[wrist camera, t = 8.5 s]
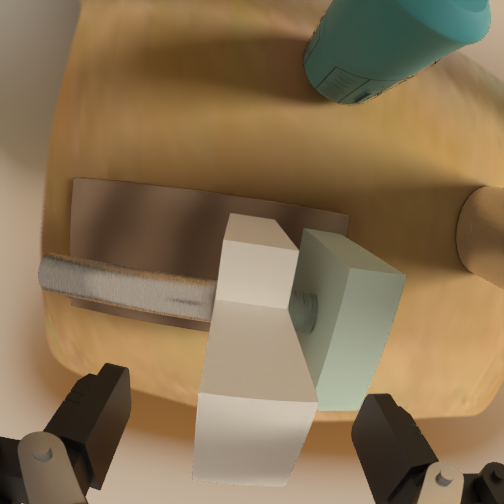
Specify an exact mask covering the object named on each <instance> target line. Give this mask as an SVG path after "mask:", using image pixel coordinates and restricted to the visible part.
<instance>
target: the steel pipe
mask: <svg viewBox="0 0 504 504" xmlns="http://www.w3.org/2000/svg"><path fill="white" fill-rule="evenodd" d="M38 278H39V283H40V286H41V287H42V289H44V290H47V291H51V292H55V293H59V294H63V295H68V296H72V297H76V298H81V299H85V300H89V301H94V302H99V303H103V304H108V305H113V306H118V307H123V308H128V309H133V310H139V311H144V312H149V313H155V314H161V315H166V316H172V317H178V318H185V319H191V320H197V321H204V322H211V320H212V314H213V309H214V304H215V298H216V290H217V282H218V281H217V280H210V279H204V278H197V277H190V276H184V275H177V274H171V273H164V272H158V271H152V270H146V269H140V268H134V267H128V266H122V265H116V264H110V263H104V262H99V261H93V260H88V259H82V258H77V257H71V256H66V255H60V254H55V253H47V254H46V255H45V256H44V257H43V259H42V261H41V263H40V266H39V272H38ZM288 312H289V315H290V318H291V321H292V324H293V326H294V329H295V332H296V333H303V334H311V333H312V332H313V330H314V328H315V325H316V321H317V315H318V299H317V296H316V294H315V293H307V292H299V291H291V294H290V299H289V304H288Z"/></svg>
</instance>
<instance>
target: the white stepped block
mask: <svg viewBox="0 0 504 504" xmlns="http://www.w3.org/2000/svg"><path fill="white" fill-rule="evenodd" d="M298 255H299V250H298V249H297V247H296V246H295V245H294V243H293V242H292V241H291V240H290V238H289V237H288V236H287V235H286V233H285V232H284V231H283V229H282V228H281V227H280V226H279V224H278V223H277V222H276V221H275V220H273V219H267V218H261V217H254V216H247V215H241V214H234V213H230V216H229V220H228V224H227V228H226V231H225V235H224V239H223V246H222V253H221V260H220V267H219V275H218V282H217V290H216V298H215V304H214V309H213V314H212V320H211V325H210V331H209V336H208V342H207V347H206V353H205V359H204V364H203V370H202V376H201V382H200V387H199V394H198V406H197V418H196V431H195V442H194V457H193V471H192V480H196V481H204V482H213V483H222V484H233V485H248V486H285V485H286V483H287V481H288V478H289V476H290V474H291V472H292V470H293V467H294V465H295V463H296V460H297V458H298V456H299V453H300V451H301V449H302V446H303V444H304V441H305V439H306V436H307V434H308V431H309V429H310V426H311V424H312V421H313V418H314V416H315V413H316V410H317V408H318V405H319V400H318V397H317V394H316V391H315V388H314V385H313V382H312V379H311V376H310V373H309V370H308V367H307V364H306V361H305V358H304V355H303V353H302V350H301V347H300V344H299V341H298V338H297V335H296V332H295V329H294V326H293V324H292V321H291V318H290V315H289V312H288V304H289V299H290V294H291V290H292V285H293V280H294V275H295V270H296V265H297V260H298Z"/></svg>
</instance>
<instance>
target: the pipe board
mask: <svg viewBox="0 0 504 504" xmlns="http://www.w3.org/2000/svg"><path fill="white" fill-rule="evenodd" d="M230 213H234V214H241V215H247V216H254V217H261V218H267V219H273V220H275V221H276V222H277V223H278V224H279V226H280V227H281V228H282V229H283V231H284V232H285V233H286V235H287V236H288V237H289V238H290V240H291V241H292V242H293V243H294V245H295V246H296V247H297V249H298V250H300V245H301V239H302V234H303V229H304V228H307V229H313V230H319V231H325V232H331V233H337V234H341V235H343V236H345V237H347V232H348V227H349V222H350V217H351V216H349V215H346V214H343V213H337V212H332V211H327V210H321V209H316V208H310V207H305V206H299V205H293V204H287V203H281V202H275V201H269V200H263V199H256V198H250V197H243V196H237V195H230V194H223V193H216V192H208V191H201V190H193V189H186V188H178V187H169V186H161V185H152V184H143V183H134V182H124V181H114V180H103V179H92V178H74V181H73V192H72V206H71V225H70V256H71V257H77V258H82V259H88V260H93V261H99V262H104V263H110V264H116V265H122V266H128V267H134V268H140V269H146V270H152V271H158V272H164V273H171V274H177V275H184V276H190V277H197V278H204V279H210V280H217V281H218V275H219V267H220V260H221V253H222V246H223V239H224V235H225V231H226V228H227V224H228V220H229V216H230ZM71 305H72V306H76V307H80V308H85V309H89V310H93V311H98V312H102V313H107V314H112V315H116V316H121V317H126V318H131V319H136V320H141V321H147V322H152V323H158V324H163V325H169V326H175V327H181V328H187V329H194V330H200V331H207V332H209V331H210V325H211V322H204V321H197V320H191V319H185V318H178V317H172V316H166V315H161V314H155V313H149V312H144V311H139V310H133V309H128V308H123V307H118V306H113V305H108V304H103V303H99V302H94V301H89V300H85V299H81V298H76V297H72V296H71Z"/></svg>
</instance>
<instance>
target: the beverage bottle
mask: <svg viewBox="0 0 504 504" xmlns="http://www.w3.org/2000/svg"><path fill="white" fill-rule="evenodd" d="M328 3H329V2H328ZM325 12H326V11H325ZM322 18H323V19H322ZM322 18H321V19H322V21H321V20H320V21H321V22H320V24H319V26H318V28H317V30H315V31H316V32H315V31H314V32H313V34H314V33H315V34H314V36H313V38H312V37H310V38H311V39H312V40H311V39H309V40H311V42H310V41H309V42H310V44H309V43H308V44H309V45H308V44H307V45H308V47H307V48H306V52H305V51H304V52H305V56H303V58H304V65H303V66H304V68H305V72H306V75H307V77H308V79H309V81H310V83H311V84H312V86H313V87H314V88H315V89H316V90H317V91H318V92H319V93H320V94H321V95H323V96H324V97H326V98H327V99H329V100H331V101H333V102H334V101H335V102H336V103H339V104H340V103H343V105H344V104H357V103H359V104H360V103H361V102H363V101H365V100H367V99H369V98H371V97H372V96H374V95H375V97H377V95H378V94H380V93H379V92H381V93H382V91H383V90H385V89H386V88H388V87H389V88H390V87H391V86H392V85H394V84H395V83H396V84H397V82H399V81H401V80H403V79H405V78H406V77H408V76H410V75H411V76H412V74H414V73H416V72H417V71H419V70H421V69H423V68H425V67H427V66H428V65H430V64H431V63H433V62H435V63H434V64H436V63H437V62H438V61H439V60H440V59H441V58H442V57H444V56H446V55H448V54H450V53H452V52H454V51H456V50H458V49H460V48H462V47H464V46H465V45H469V44H473V43H476V42H478V41H480V40H481V39H483V38H484V37H485V35H486V34H487V33H488V31H489V28H490V24H491V11H490V4H489V0H333V1H332V3H331V4H330V6H329V8H328V10H327V12H326V13H325V15H324V16H323V17H322ZM317 25H318V24H317ZM438 59H439V60H438ZM436 60H438V61H437V62H436ZM302 62H303V59H302ZM434 64H433V65H434ZM425 71H426V70H425ZM413 76H416V75H413ZM413 76H412V77H413ZM410 78H411V77H410ZM406 79H407V78H406ZM402 82H403V81H402ZM404 82H405V81H404ZM396 84H395V86H397V85H396ZM398 85H399V84H398ZM392 88H393V87H392ZM392 88H390V89H392ZM387 90H388V89H386V90H385V92H386V91H387ZM380 95H381V94H380ZM378 96H379V95H378ZM375 97H374V98H375ZM371 100H372V99H371ZM367 102H368V101H367ZM363 104H364V103H363Z"/></svg>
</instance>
